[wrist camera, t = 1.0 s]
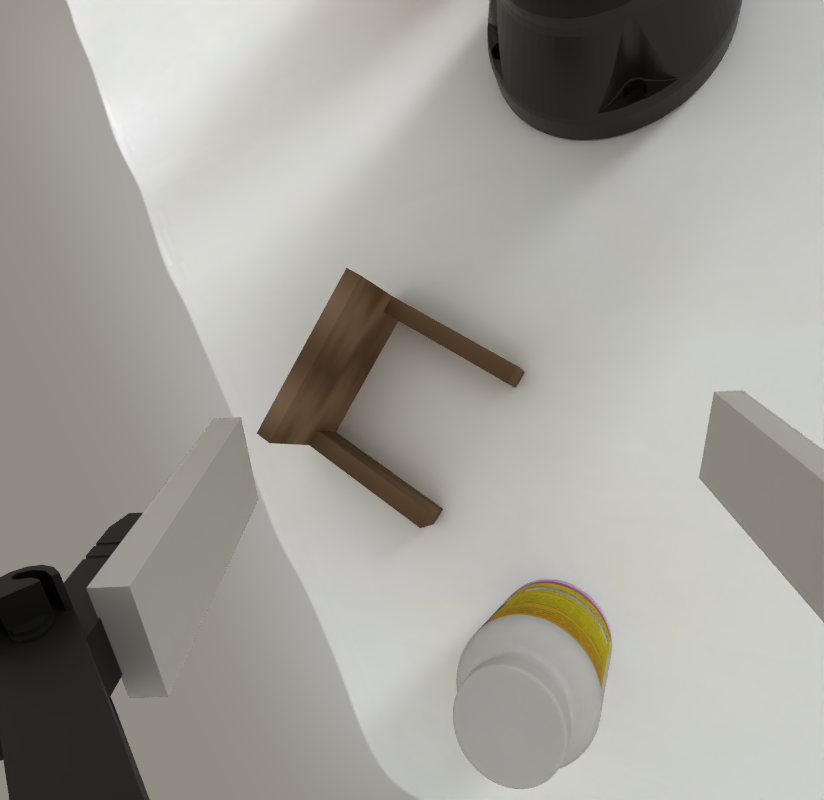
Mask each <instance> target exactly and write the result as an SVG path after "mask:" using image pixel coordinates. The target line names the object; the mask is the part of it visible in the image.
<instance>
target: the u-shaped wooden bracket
mask: <svg viewBox="0 0 824 800" xmlns="http://www.w3.org/2000/svg"><path fill="white" fill-rule="evenodd" d="M398 320H399V321H400V322H402V323H404V324H406V325H407V326H409V327H411V328H413V329H414V330H416V331H418V332H420V333H421V334H423V335H425V336H426V337H428V338H430V339H432V340H433V341H435V342H437V343H439V344H440V345H442V346H444V347H445V348H447V349H449V350H451V351H452V352H454V353H456V354H458V355H459V356H461V357H463V358H465V359H466V360H468V361H470V362H471V363H473V364H475V365H477V366H478V367H480V368H482V369H484V370H485V371H487V372H489V373H491V374H492V375H494V376H496V377H497V378H499V379H501V380H503V381H504V382H506V383H508V384H510V385H511V386H513V387H515V388H516V386H517V384H518V383H519V381H520V379H521V378H522V376H523V374H524V373H525V372H524V371H523V370H522V369H520V368H519V367H518V366H516V365H514V364H512V363H511V362H509V361H507V360H505V359H504V358H502V357H500V356H498V355H496V354H495V353H493V352H491V351H489V350H487V349H486V348H484V347H482V346H480V345H478V344H477V343H475V342H473V341H471V340H470V339H468V338H466V337H464V336H462V335H461V334H459V333H457V332H455V331H453V330H452V329H450V328H448V327H446V326H444V325H443V324H441V323H439V322H437V321H436V320H434V319H432V318H430V317H428V316H427V315H425V314H423V313H421V312H419V311H418V310H416V309H414V308H412V307H410V306H409V305H407V304H405V303H403V302H402V301H400V300H398V299H396V298H394V297H393V296H391V295H389V294H388V293H386V292H385V291H383V290H382V289H380V288H379V287H377V286H376V285H374V284H373V283H371V282H370V281H368V280H366V279H365V278H363V277H362V276H360V275H358V274H357V273H355V272H353V271H351V270H349V269H348V268H346V270H345V272H344V274H343V276H342V277H341V279H340V281H339V283H338V285H337V287H336V289H335V290H334V292H333V294H332V296H331V298H330V300H329V301H328V303H327V305H326V307H325V309H324V311H323V312H322V314H321V316H320V318H319V320H318V322H317V323H316V325H315V327H314V329H313V331H312V333H311V334H310V336H309V338H308V340H307V342H306V344H305V346H304V347H303V349H302V351H301V353H300V355H299V357H298V358H297V360H296V362H295V364H294V366H293V368H292V369H291V371H290V373H289V375H288V377H287V379H286V380H285V382H284V384H283V386H282V388H281V390H280V392H279V393H278V395H277V397H276V399H275V401H274V403H273V404H272V406H271V408H270V410H269V412H268V414H267V415H266V417H265V419H264V421H263V423H262V425H261V426H260V428H259V430H258V432H257V434H259V435H260V436H261V437H263V438H264V439H265V440H266V441H268V442H269V443H280V444H301V445H310V446H311V447H313V448H314V449H315V450H317V451H318V452H319V453H321V454H322V455H323V456H325V457H326V458H327V459H329V460H330V461H331V462H333V463H334V464H335V465H337V466H338V467H339V468H341V469H342V470H343V471H345V472H346V473H347V474H349V475H350V476H351V477H353V478H354V479H355V480H357V481H358V482H359V483H361V484H362V485H363V486H365V487H366V488H367V489H369V490H370V491H372V492H373V493H374V494H376V495H377V496H378V497H380V498H381V499H382V500H384V501H385V502H386V503H388V504H389V505H390V506H392V507H393V508H394V509H396V510H397V511H398V512H400V513H401V514H402V515H404V516H405V517H406V518H408V519H409V520H410V521H412V522H413V523H414V524H416V525H417V526H418V527H420V528H422V527H425V526H428V525H432V524H434V523H435V521H436V520H437V518H438V516H439V515H440V513H441V511H442V510H443V509H442V508H441V507H439V506H438V505H436V504H435V503H434V502H432V501H431V500H429V499H428V498H427V497H425V496H424V495H423V494H421V493H420V492H418V491H417V490H416V489H414V488H413V487H411V486H410V485H409V484H407V483H406V482H404V481H403V480H402V479H400V478H399V477H397V476H396V475H395V474H393V473H392V472H390V471H389V470H388V469H386V468H385V467H383V466H382V465H381V464H379V463H378V462H377V461H375V460H374V459H372V458H371V457H370V456H368V455H367V454H365V453H364V452H363V451H361V450H360V449H358V448H357V447H356V446H354V445H353V444H351V443H350V442H349V441H347V440H346V439H344V438H343V437H342V436H340V435H339V434H337V433H336V430H337V428H338V427H339V425H340V423H341V421H342V419H343V418H344V416H345V414H346V412H347V411H348V409H349V407H350V405H351V403H352V402H353V400H354V398H355V396H356V395H357V393H358V391H359V389H360V387H361V386H362V384H363V382H364V380H365V379H366V377H367V375H368V373H369V371H370V370H371V368H372V366H373V364H374V363H375V361H376V359H377V357H378V355H379V354H380V352H381V350H382V348H383V347H384V345H385V343H386V341H387V339H388V338H389V336H390V334H391V332H392V331H393V329H394V327H395V325H396V323H397V322H398Z"/></svg>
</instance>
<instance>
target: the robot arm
mask: <svg viewBox="0 0 824 800" xmlns="http://www.w3.org/2000/svg"><path fill="white" fill-rule="evenodd" d="M741 3H742V0H489V16H488V51H489V57H490V62H491V65H492V69H493V71H494V74H495V77H496V79H497V82H498V85H499V87H500V90H501V92H502V94H503V96H504V98H505V100H506V102H507V103H508V105H509V106H510V107H511V109H512V110H513V111H514V112H515V113H516V114H517V115H518V116H519V117H520V118H521V119H522V120H524V121H525V122H526V123H527V124H529V125H531V126H532V127H534V128H536V129H538V130H540V131H542V132H544V133H547V134H550V135H553V136H557V137H561V138H567V139H577V140H592V139H602V138H608V137H613V136H618V135H621V134H625V133H628V132H631V131H634V130H637V129H639V128H641V127H644V126H646V125H648V124H650V123H652V122H654V121H656V120H658V119H660V118H661V117H663V116H665V115H666V114H668V113H670V112H671V111H673V110H674V109H675V108H677V107H678V106H679V105H681V104H682V103H683V102H684V101H686V100H687V99H688V98H689V97H690V96H691V95H693V94H694V93H695V92H696V91H697V90H698V89H699V88H700V87H701V86H702V85H703V84H704V82H705V81H706V80H707V79H708V78H709V76H710V75H711V74H712V73H713V71H714V70H715V69H716V67H717V66H718V64H719V63H720V61H721V60H722V58H723V56H724V54H725V53H726V51H727V49H728V47H729V44H730V42H731V40H732V37H733V35H734V32H735V29H736V26H737V22H738V17H739V12H740V8H741ZM699 478H700V479H701V481H702V482H703V483H704V484H705V485H706V486H707V488H708V489H709V490H710V491H711V492H712V493H713V494H714V496H715V497H716V498H717V499H718V500H719V501H720V503H721V504H722V505H723V506H724V507H725V508H726V510H727V511H728V512H729V513H730V514H731V515H732V517H733V518H734V519H735V520H736V521H737V522H738V523H739V525H740V526H741V527H742V528H743V529H744V530H745V532H746V533H747V534H748V535H749V536H750V537H751V539H752V540H753V541H754V542H755V543H756V544H757V546H758V547H759V548H760V549H761V550H762V551H763V552H764V554H765V555H766V556H767V557H768V558H769V559H770V561H771V562H772V563H773V564H774V565H775V566H776V568H777V569H778V570H779V571H780V572H781V573H782V575H783V576H784V577H785V578H786V579H787V580H788V581H789V583H790V584H791V585H792V586H793V587H794V588H795V590H796V591H797V592H798V593H799V594H800V595H801V597H802V598H803V599H804V600H805V601H806V602H807V604H808V605H809V606H810V607H811V608H812V609H813V610H814V612H815V613H816V614H817V615H818V616H819V617H820V619H821V620H822V621H823V622H824V450H823V449H821V448H820V447H819V446H817V445H816V444H815V443H813V442H812V441H810V440H809V439H808V438H806V437H805V436H804V435H802V434H801V433H800V432H798V431H797V430H796V429H794V428H793V427H791V426H790V425H789V424H787V423H786V422H785V421H783V420H782V419H781V418H779V417H778V416H777V415H775V414H774V413H772V412H771V411H770V410H768V409H767V408H766V407H764V406H763V405H762V404H760V403H759V402H758V401H756V400H755V399H753V398H752V397H751V396H749V395H748V394H747V393H745V392H744V391H743V390H742V391H723V392H714V395H713V401H712V407H711V413H710V418H709V424H708V430H707V435H706V441H705V447H704V453H703V458H702V464H701V470H700V475H699ZM257 501H258V496H257V491H256V486H255V482H254V477H253V472H252V467H251V463H250V458H249V453H248V448H247V444H246V439H245V434H244V429H243V425H242V420H241V417H239V418H223V419H214V420H213V421H212V422H211V424H210V425H209V426H208V428H207V429H206V430H205V432H204V433H203V434H202V436H201V437H200V438H199V440H198V441H197V442H196V444H195V445H194V446H193V448H192V449H191V450H190V452H189V453H188V454H187V456H186V457H185V458H184V460H183V461H182V462H181V464H180V465H179V466H178V468H177V469H176V470H175V471H174V473H173V474H172V475H171V477H170V478H169V479H168V481H167V482H166V483H165V485H164V486H163V487H162V489H161V490H160V491H159V493H158V494H157V495H156V497H155V498H154V499H153V501H152V502H151V503H150V505H149V506H148V507H147V508H146V510H145V511H144V512H143V513H129V514H127V515H126V516H125V517H124V518H122V519H120V520H119V521H118V522H116V523H115V524H113V525H112V526H111V527H109V528H108V530H107V531H106V532H105V534H104V535H103V536H102V537H101V538H100V539H99V541H98V542H97V543H96V546H94V547H93V548H92V549H91V550H90V552H89V553H88V554H87V555H86V559H84V560H82V561H81V563H80V564H79V565H78V566H77V568H76V569H75V570H74V571H73V572H72V574H71V575H70V576H69V577H68V579H67V580H66V581H65V582H64V583H63V581H62V578H61V576H60V574H59V572H58V571H57V570H56V569H55V568H54V567H51V566H45V565H39V566H38V565H37V566H29V567H25V568H22V569H19V570H16V571H13V572H10V573H8V574H6V575H4V576H2V577H0V760H3V759H4V766H5V773H6V780H7V786H8V793H9V800H149V797H148V794H147V792H146V789H145V786H144V784H143V781H142V778H141V776H140V773H139V771H138V768H137V765H136V762H135V760H134V757H133V754H132V752H131V749H130V746H129V744H128V741H127V738H126V736H125V733H124V731H123V728H122V725H121V722H120V720H119V717H118V714H117V712H116V709H115V707H114V704H113V702H112V699H111V697H110V696H111V694H112V692H113V690H114V689H115V687H116V685H117V683H118V682H119V680H120V678H122V680H123V683H124V685H125V688H126V690H127V693H128V696H129V698H144V697H168V696H169V694H170V692H171V690H172V688H173V685H174V683H175V681H176V679H177V677H178V674H179V672H180V670H181V668H182V666H183V663H184V661H185V659H186V657H187V655H188V652H189V650H190V648H191V646H192V644H193V642H194V639H195V637H196V635H197V633H198V631H199V628H200V626H201V624H202V622H203V619H204V617H205V615H206V613H207V611H208V609H209V606H210V604H211V602H212V600H213V598H214V595H215V593H216V591H217V589H218V586H219V584H220V582H221V580H222V578H223V576H224V573H225V571H226V569H227V567H228V564H229V562H230V560H231V558H232V556H233V554H234V551H235V549H236V547H237V545H238V543H239V540H240V538H241V536H242V534H243V531H244V529H245V527H246V525H247V523H248V521H249V518H250V516H251V514H252V512H253V510H254V507H255V505H256V503H257Z"/></svg>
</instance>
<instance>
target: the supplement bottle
mask: <svg viewBox="0 0 824 800" xmlns="http://www.w3.org/2000/svg"><path fill="white" fill-rule="evenodd" d="M611 651H612V640H611V633H610V629H609V626H608V623H607V620H606V618H605V616H604V614H603V613H602V611H601V609H600V608H599V606H598V605H597V604H596V603H595V602H594V600H593V599H592V598H590V597H589V596H588V595H587V594H586V593H585V592H583V591H582V590H580V589H579V588H577V587H575V586H573V585H571V584H568V583H566V582H562V581H557V580H539V581H534V582H531V583H528V584H526V585H524V586H523V587H521V588H519V589H518V590H517V591H516V592H514V593H513V594H512V595H511V596H510V597H509V598H508V599H507V601H506V602H505V603H504V604H503V605H502V606H501V607H500V608H499V609H498V610H497V611H496V612H495V613H494V614H493V615H492V616H491V617H490V619H489V620H488V621H487V622H486V623H485V624H484V625H483V626H482V627H481V628H480V629H479V630H478V631H477V632H476V633H475V634H474V635H473V637H472V638H471V639H470V641H469V642H468V643H467V645H466V647H465V649H464V651H463V653H462V655H461V658H460V661H459V665H458V670H457V695H456V698H455V702H454V707H453V723H454V729H455V733H456V737H457V740H458V742H459V745H460V747H461V749H462V751H463V753H464V754H465V756H466V757H467V759H468V760H469V761H470V763H471V764H472V765H473V766H474V767H475V768H476V769H477V770H478V771H479V772H480V773H481V774H482V775H484V776H485V777H487V778H488V779H490V780H491V781H493V782H495V783H497V784H499V785H502V786H505V787H509V788H514V789H527V788H532V787H536V786H538V785H541V784H543V783H544V782H546V781H547V780H549V779H550V778H551V777H552V776H553V775H554V774H555V773H556V772H557V770H558V769H559V768H562V767H565V766H567V765H568V764H570V763H572V762H573V761H575V760H576V759H577V758H578V757H580V756H581V755H582V754H583V753H584V752H585V751H586V749H587V748H588V747H589V745H590V744H591V742H592V740H593V738H594V736H595V734H596V731H597V729H598V725H599V721H600V716H601V710H602V703H603V697H604V692H605V686H606V681H607V675H608V670H609V665H610V659H611Z"/></svg>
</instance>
